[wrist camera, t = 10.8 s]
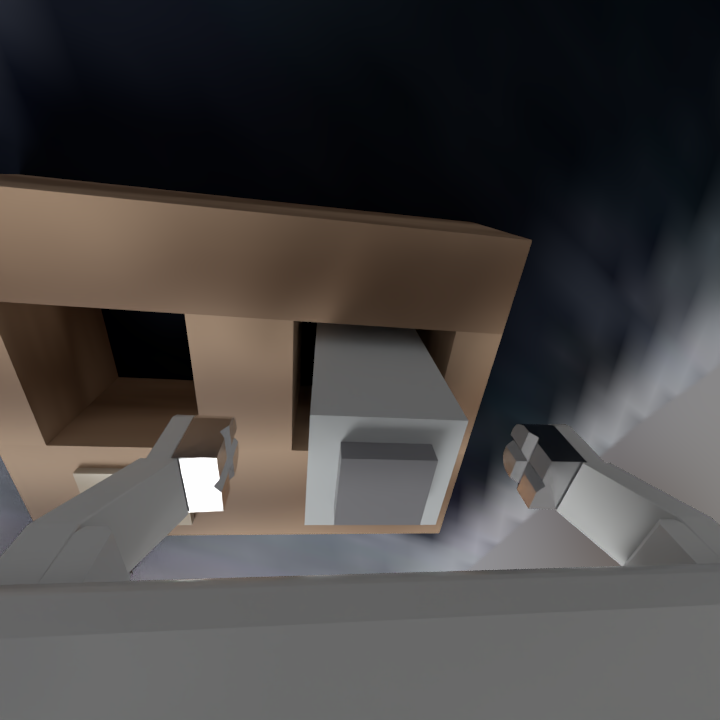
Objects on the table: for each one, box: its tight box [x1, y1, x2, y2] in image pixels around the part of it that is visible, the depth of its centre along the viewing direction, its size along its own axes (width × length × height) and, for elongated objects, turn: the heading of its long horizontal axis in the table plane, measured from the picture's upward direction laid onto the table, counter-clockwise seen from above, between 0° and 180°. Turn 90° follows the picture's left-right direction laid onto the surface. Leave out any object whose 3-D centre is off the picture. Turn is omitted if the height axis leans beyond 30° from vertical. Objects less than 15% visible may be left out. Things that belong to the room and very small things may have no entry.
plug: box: [304, 322, 468, 525], centre depth 13 cm, size 4×4×10 cm
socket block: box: [0, 174, 532, 535], centre depth 15 cm, size 14×18×5 cm
